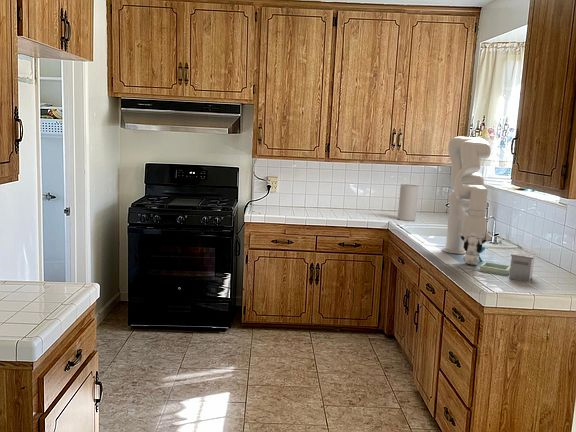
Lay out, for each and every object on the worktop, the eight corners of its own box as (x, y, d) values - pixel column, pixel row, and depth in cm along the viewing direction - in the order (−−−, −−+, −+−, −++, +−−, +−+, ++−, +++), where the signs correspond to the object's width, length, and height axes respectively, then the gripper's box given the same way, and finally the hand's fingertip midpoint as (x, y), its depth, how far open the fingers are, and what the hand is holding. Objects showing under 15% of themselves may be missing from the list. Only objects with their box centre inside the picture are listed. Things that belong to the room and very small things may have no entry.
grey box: (511, 273, 249) (514, 250, 248) (532, 277, 245) (536, 253, 243) (507, 278, 240) (510, 254, 238) (529, 282, 236) (532, 257, 234)
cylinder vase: (417, 221, 394) (420, 186, 391) (399, 220, 394) (402, 185, 391) (412, 219, 407) (416, 185, 403) (395, 218, 406) (399, 183, 403)
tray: (484, 266, 261) (485, 261, 261) (510, 270, 255) (511, 265, 255) (479, 270, 251) (480, 265, 251) (506, 275, 245) (507, 270, 245)
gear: (474, 254, 280) (487, 243, 272) (481, 264, 277) (494, 253, 270) (460, 259, 273) (473, 248, 266) (467, 269, 271) (480, 258, 264)
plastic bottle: (470, 266, 259) (475, 224, 256) (460, 263, 265) (465, 221, 262) (481, 266, 262) (486, 224, 259) (471, 262, 268) (476, 221, 265)
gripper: (456, 211, 261) (452, 249, 263) (494, 216, 252) (489, 255, 255) (459, 210, 267) (455, 247, 270) (497, 215, 259) (492, 253, 261)
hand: (472, 251), depth 262 cm, fingers closed on plastic bottle, 5 cm apart
